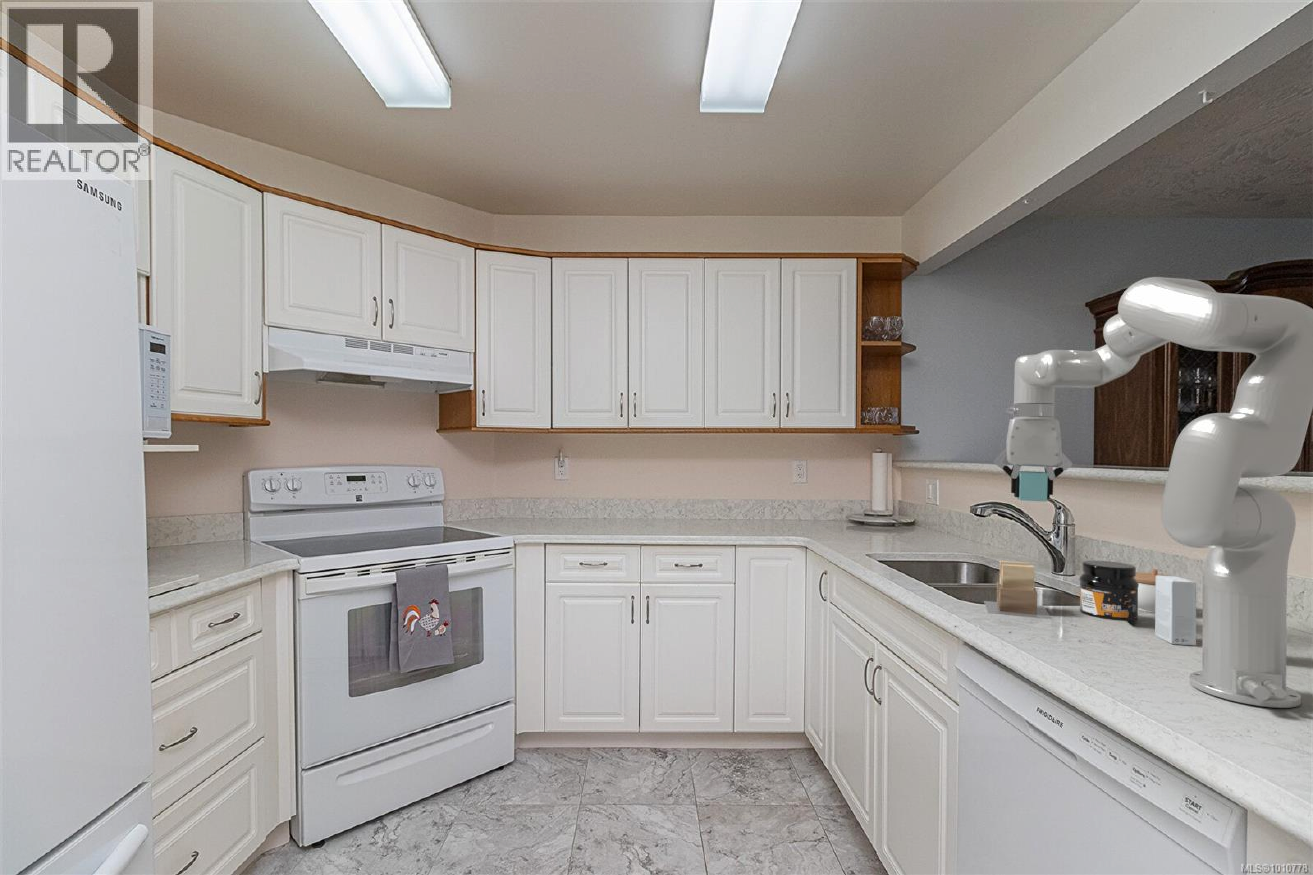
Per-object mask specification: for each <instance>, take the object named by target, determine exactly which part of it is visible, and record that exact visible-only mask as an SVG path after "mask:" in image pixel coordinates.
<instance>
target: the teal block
mask: <svg viewBox="0 0 1313 875" xmlns="http://www.w3.org/2000/svg"><path fill="white" fill-rule="evenodd" d="M1018 476H1019V479H1020V493H1019V497H1016V499H1018V500H1019V501H1026V502H1029V501H1030V502H1043V503H1044V502H1048V499H1047V481H1048V473H1046V472H1045V471H1034V470H1033V471H1030V470H1020V471H1019V473H1018Z"/></svg>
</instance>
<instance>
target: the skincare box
mask: <svg viewBox="0 0 1313 875" xmlns="http://www.w3.org/2000/svg"><path fill="white" fill-rule="evenodd" d="M1154 615H1155V617H1154V619H1155V621H1154V624H1155V625H1154V627H1155V628H1154V636H1156V637H1157V638H1159V639H1161V640H1163V641H1166V642H1168V643H1170V644H1171V645H1179V646H1180V645H1183V646H1196V645H1197V582H1196V581H1192V580H1189V579H1186V578H1184V577H1180V576H1173V575H1170V576H1158V575H1157V576H1156V592H1155V613H1154Z"/></svg>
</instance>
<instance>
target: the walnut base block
mask: <svg viewBox="0 0 1313 875" xmlns="http://www.w3.org/2000/svg"><path fill="white" fill-rule="evenodd" d="M996 602H997V606H998V608H999V610H1000V611H1001V612H1012V613H1022V614H1033V615H1037V606H1038V591H1037V589H1036V588H1035V587H1034V591H1031V590H1019V589H1007V588H1002V586H1001V584H1000V581H999V582H998V581H997V582H996Z"/></svg>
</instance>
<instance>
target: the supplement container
mask: <svg viewBox="0 0 1313 875" xmlns="http://www.w3.org/2000/svg"><path fill="white" fill-rule="evenodd" d="M1081 565H1082V566H1081V570H1082V571H1083V573H1082V574H1081V575H1080V576H1079V612H1080V613H1081V614H1083V615H1086V616H1089V617H1093V618H1099V619H1103V620H1110V621H1119V622H1120V621H1125V622H1126V623H1127V624H1129V625H1131V626H1132V625H1134V624H1136V623H1138V621H1139V609H1138V587H1139V583H1138V582H1137V581H1136V579H1135V578H1134V577H1135V576H1136V572H1137V568H1136V566H1135V565H1132V564H1129V563H1126V562H1125V563H1124V562H1117V561H1109V560H1092V559H1091V560H1084V561H1082V564H1081Z"/></svg>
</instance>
